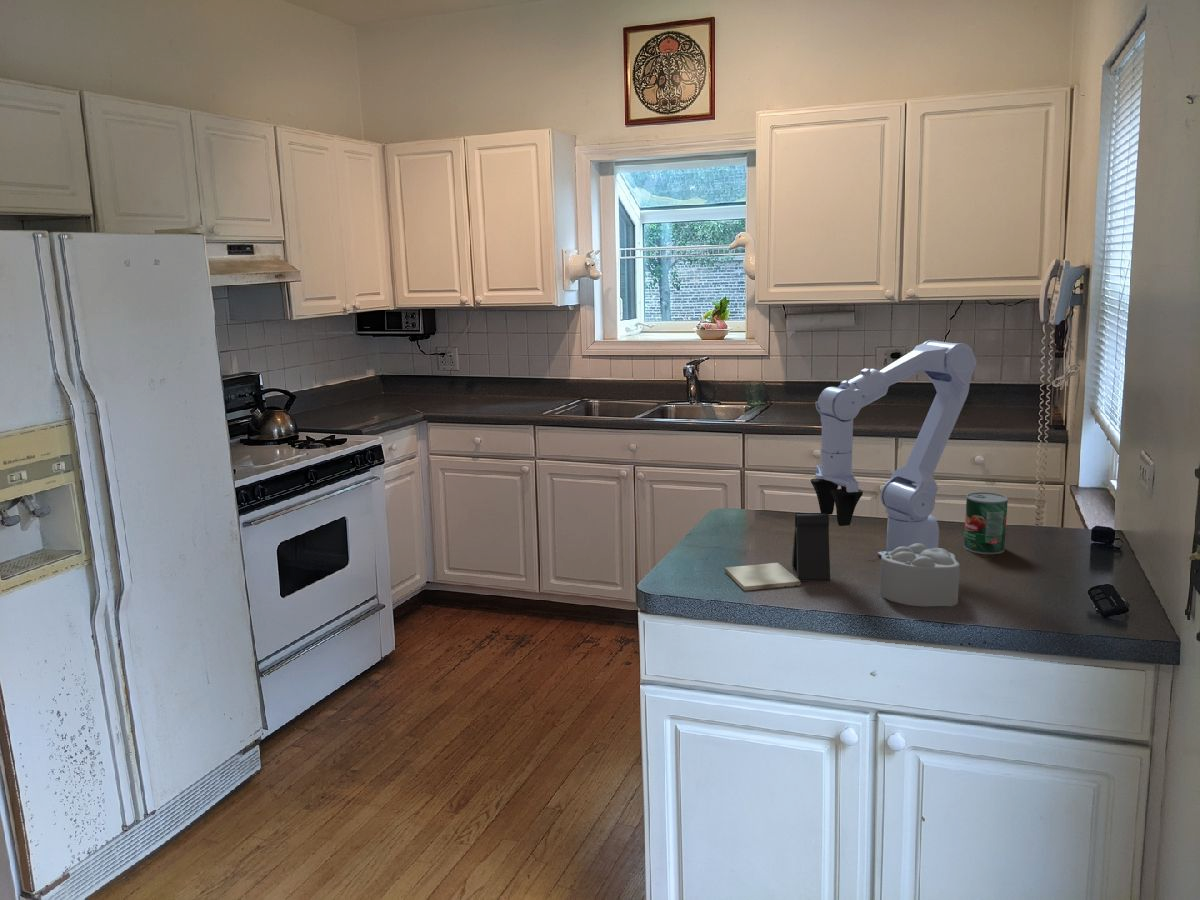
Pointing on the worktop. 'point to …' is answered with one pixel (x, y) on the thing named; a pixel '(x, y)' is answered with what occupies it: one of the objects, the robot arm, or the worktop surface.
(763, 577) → the birch board
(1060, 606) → the worktop surface
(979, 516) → the canned tomato
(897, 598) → the lumpy-topped squat cylinder
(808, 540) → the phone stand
